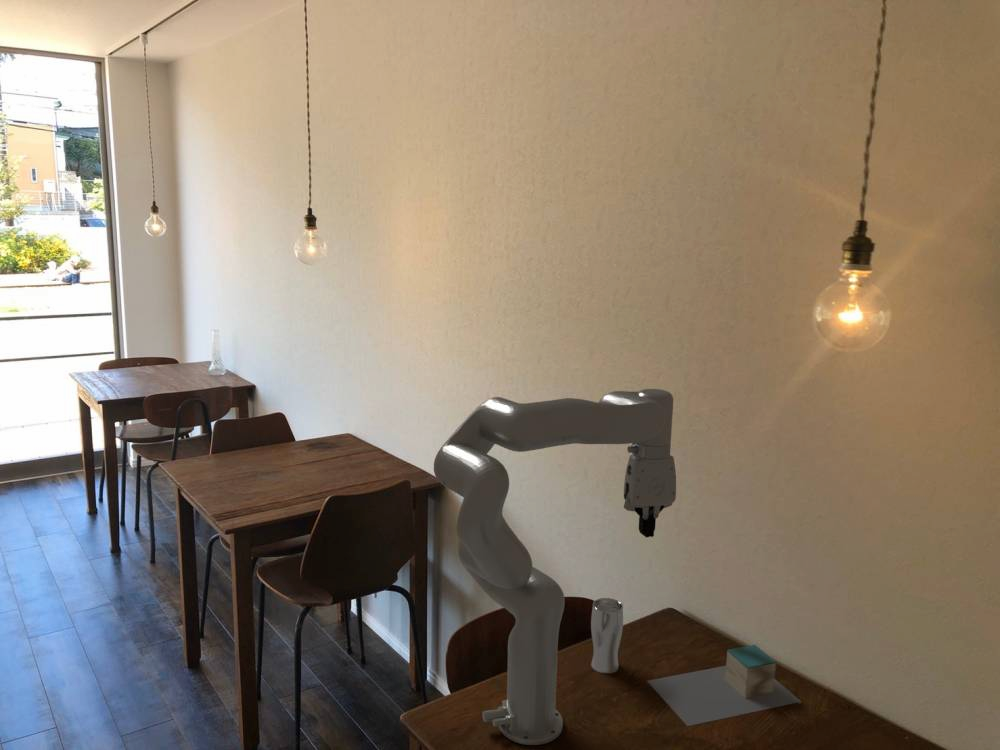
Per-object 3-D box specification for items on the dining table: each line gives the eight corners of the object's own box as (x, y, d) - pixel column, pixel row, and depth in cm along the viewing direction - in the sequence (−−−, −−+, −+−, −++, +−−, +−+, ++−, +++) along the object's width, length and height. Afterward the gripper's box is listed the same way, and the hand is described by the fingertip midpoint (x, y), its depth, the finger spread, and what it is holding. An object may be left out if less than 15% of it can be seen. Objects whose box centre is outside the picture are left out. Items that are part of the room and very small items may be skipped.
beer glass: (627, 670, 171) (630, 607, 168) (603, 680, 167) (606, 615, 164) (606, 655, 176) (609, 594, 173) (582, 664, 172) (585, 602, 170)
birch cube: (775, 661, 161) (773, 692, 163) (754, 644, 168) (752, 673, 169) (747, 667, 159) (744, 698, 161) (727, 649, 166) (725, 679, 167)
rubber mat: (687, 728, 151) (687, 726, 151) (646, 682, 166) (646, 680, 166) (801, 703, 160) (801, 701, 160) (752, 662, 175) (753, 660, 175)
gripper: (627, 458, 152) (622, 545, 155) (693, 452, 157) (687, 537, 160) (610, 447, 159) (606, 531, 162) (673, 442, 164) (668, 524, 167)
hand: (646, 534), depth 161 cm, fingers closed
